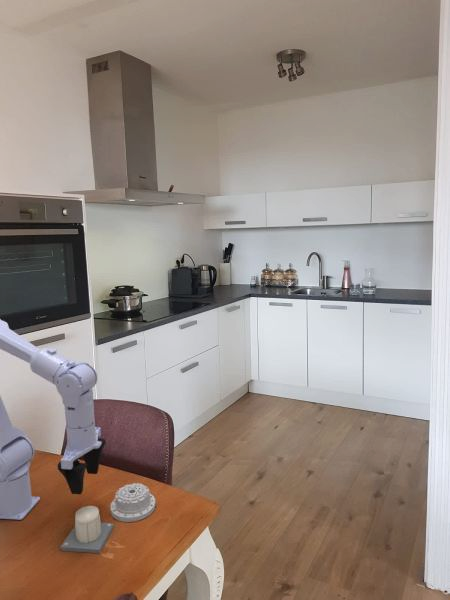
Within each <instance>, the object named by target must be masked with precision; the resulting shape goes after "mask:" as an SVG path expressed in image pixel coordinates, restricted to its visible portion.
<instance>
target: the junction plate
mask: <svg viewBox="0 0 450 600" xmlns="http://www.w3.org/2000/svg"><path fill="white" fill-rule="evenodd" d="M100 524H101V534H100V536H99V537H98V538H97V539H96V540H94V541H92V542H88V543H84V542H79V541H78V539H77V538H76V527H75V526H74V527H73V528H72V529H71V531H70V532H69V534H68V536H67V537H66V539H64V541H63V543H62V544H61V545H60V551H64V552H74V553H75V552H77V553H78V552H79V553H87V554H88V553H91V554H100V553H101V552H102V549H103V548H104V546H105V544H106V543H107V541H108V538H109V537H110V535H111V533H112V532H113V530H114V528H115V523H113V522H100Z"/></svg>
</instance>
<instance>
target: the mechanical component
mask: <svg viewBox="0 0 450 600" xmlns="http://www.w3.org/2000/svg"><path fill="white" fill-rule="evenodd" d="M156 507H157V506H156V498H155V496H154V495H153V494H152V493H150V489H149V487H148V486H146V485H144V484H143V483H140V482H137V483H136V482H133V483H132V484H125V485H124V486H122V487H119V488H118V490H116V492H115V496H114V499H113V500H112V502H111V503H110V514H111V517H112V518H114V519H115V520H117V521H120V522H125V523H132V522H139V521H141V520H143V519H146V518H148V517H150V515H151V514H152V513H153V512H154V511H155V509H156Z"/></svg>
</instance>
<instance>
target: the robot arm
mask: <svg viewBox="0 0 450 600" xmlns="http://www.w3.org/2000/svg"><path fill="white" fill-rule="evenodd" d="M0 350H2V351H4V352H6V353H8V354H10V355H12V356H14V357H16V358H18V359H20V360H22V361H24V362H26V363H28V364H29V365H30V371H31V372H32V373H34V374H36V375H38V376H39V377H41V378H43V379H44V380H45V381H47V382H49V383H51V384H53V385H55V386H56V387H55V388H56V390H57V392H58V394H59V395H60V396H61V399H62V404H63V405H64V415H65V427H66V428H65V429H66V439H67V443H66V446H65V449H64V454H63V457H62V458H61V459H60V462H58V463H57V470H58V471H59V472H60V474H61V475H62V476H63V477H64V479H65V481H66V483H67V485H68V488H69V490H70V493H71V495H82V493H83V491H84V478H85V472H86V473H87V474H90V475H97V474H98V471H99V467H100V463H101V462H100V461H101V457H102V453H103V449H104V446H105V445H106V442H107V441H106V439H105V438H100V437H101V436H102V430H101V427H96V422H95V420H96V419H95V405H94V403H95V402H94V390H93V388H95V386H96V385H97V382H98V374H97V371H96V369H95V368H94V367H93V366H92V365H90V363H88V362H79V363H78V362H76V361H74V360H72V359H68V358H67V357H65V356H64V355H62V354H60V353H58V352H57V349H55V348H53V347H51V348H50V347H45V348H44V347H43V348H41V349H40V348H38V347H37V346H35V345H34V344H32V343H31V342H30V341H29V340H27V339H25V338H24V337H23V336H21V335H20V334H18V333H16V332H15V331H13V329H11V328H10V327H9V324H8V322H6V321H5V320H2V319H1V318H0ZM35 451H36V450H35V446H34V444H33V442H32V441H31V440H30V438H28V436H27V435H26V433H25V430H24V429H22V428H18V427H15V426H13V423H12V421H11V419H10V417H9V413H8V412H7V408H6V406H5V404H4V401H3V399H2V396H1V395H0V519H1V520H2V519H3V520H21V521H22V520H23V519H24V518H25V517H26V516H27V514H29V513H30V511H31V510H32V509H33V508H34V506H36V505H37V504H38V502H39V501H40V500H41V498H40V496H32V495H33V494H32V486H31V480H30V479H31V478H30V476H31V475H30V469H29V468H30V467H31V460H32V459H33V458H34V456H35V453H36V452H35ZM81 457H83V458H84V459H83V460H84V462H81V461H79V458H81Z"/></svg>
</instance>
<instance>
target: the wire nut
mask: <svg viewBox="0 0 450 600" xmlns="http://www.w3.org/2000/svg"><path fill="white" fill-rule="evenodd" d="M74 517H75V519H74V524H75V525H74V527H76V538H77V539H78V541H79V542H84V543H88V542H92V541H94V540H96V539H97V538H98V537H99V536H100V534H101V524H100V523H101V516H100V511H99V508H98V507H96V506H95V505H87V506H86V505H85V506H82V507H81V508H79V509H78V510H76V511H75V514H74Z"/></svg>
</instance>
